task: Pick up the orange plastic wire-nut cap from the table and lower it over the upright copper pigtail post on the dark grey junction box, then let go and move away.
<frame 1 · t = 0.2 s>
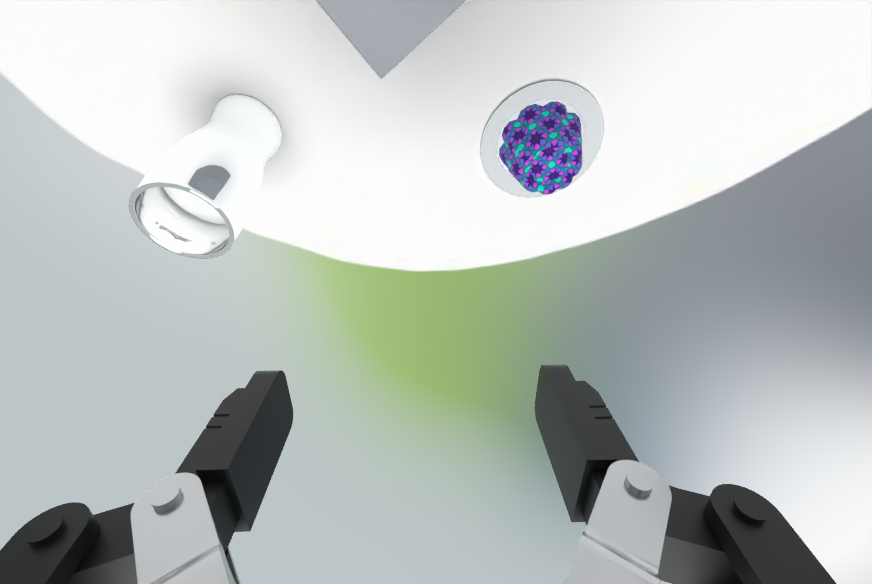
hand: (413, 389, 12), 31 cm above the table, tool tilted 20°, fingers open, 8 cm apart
beer glass: (250, 126, 37), on the table
pudding: (539, 141, 39), on the table
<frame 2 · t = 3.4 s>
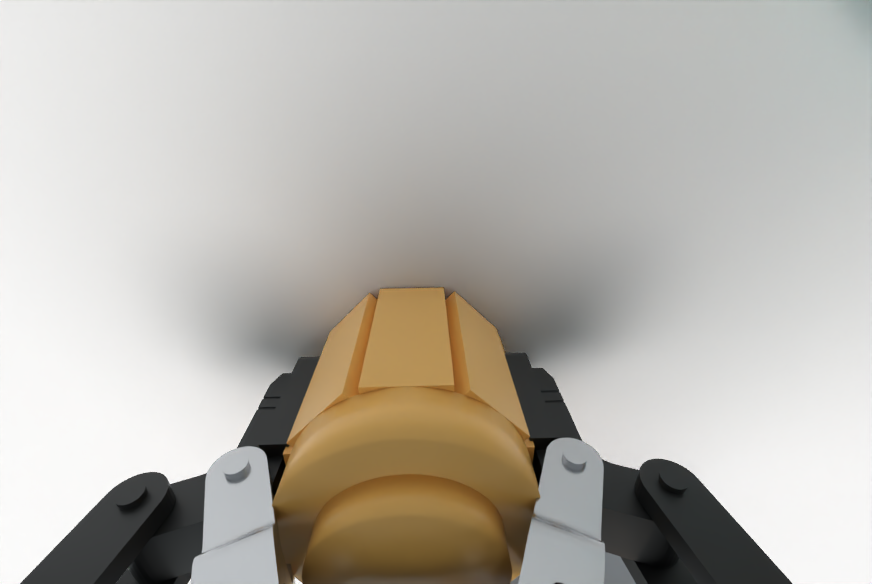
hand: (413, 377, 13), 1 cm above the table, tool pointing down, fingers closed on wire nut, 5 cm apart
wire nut: (414, 362, 14), on the table, touching gripper
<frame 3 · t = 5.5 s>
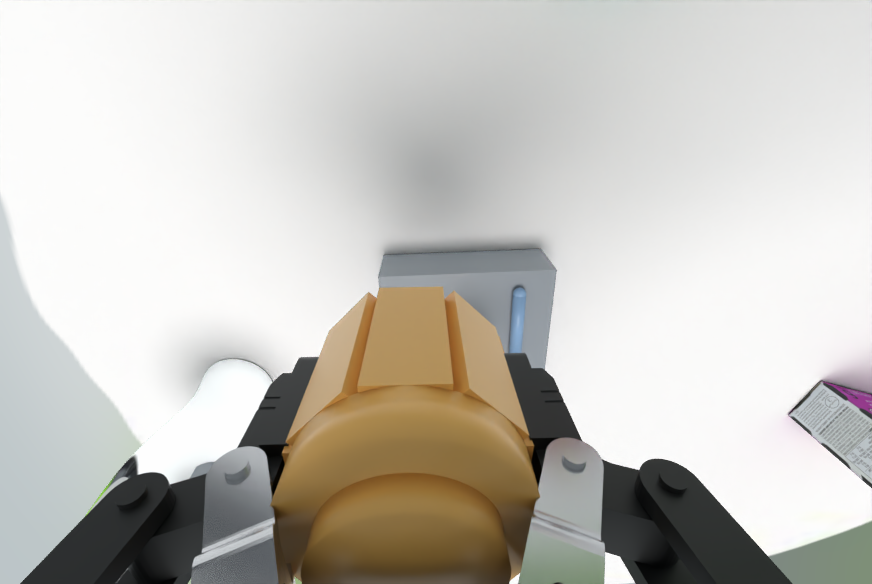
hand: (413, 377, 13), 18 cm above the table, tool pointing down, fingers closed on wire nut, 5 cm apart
beer glass: (241, 384, 35), on the table
candy bar box: (845, 406, 38), on the table
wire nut: (414, 361, 14), point 17 cm above the table, touching gripper
junction box: (462, 339, 33), on the table
when the fingers open (11 cm above the table, at t = 8.0 s): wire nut drops 2 cm, resting on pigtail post.
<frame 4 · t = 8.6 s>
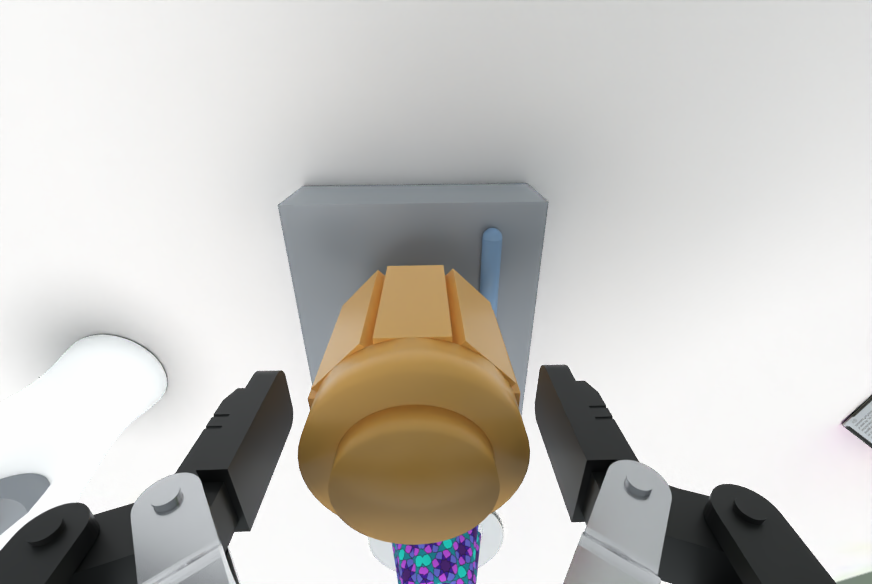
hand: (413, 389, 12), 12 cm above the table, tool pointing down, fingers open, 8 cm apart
beer glass: (121, 370, 26), on the table
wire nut: (417, 334, 15), point 8 cm above the table, touching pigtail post
junction box: (419, 313, 24), on the table
pudding: (435, 529, 35), on the table
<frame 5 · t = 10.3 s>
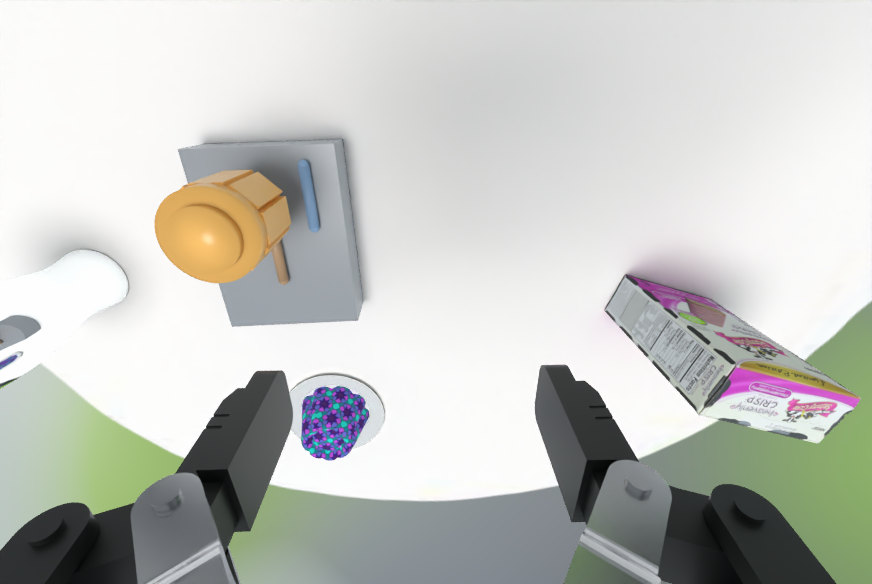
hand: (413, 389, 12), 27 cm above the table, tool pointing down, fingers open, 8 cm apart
beer glass: (97, 277, 39), on the table
candy bar box: (655, 302, 43), on the table
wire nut: (248, 211, 28), point 8 cm above the table, touching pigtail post
junction box: (291, 230, 37), on the table
pudding: (336, 409, 48), on the table
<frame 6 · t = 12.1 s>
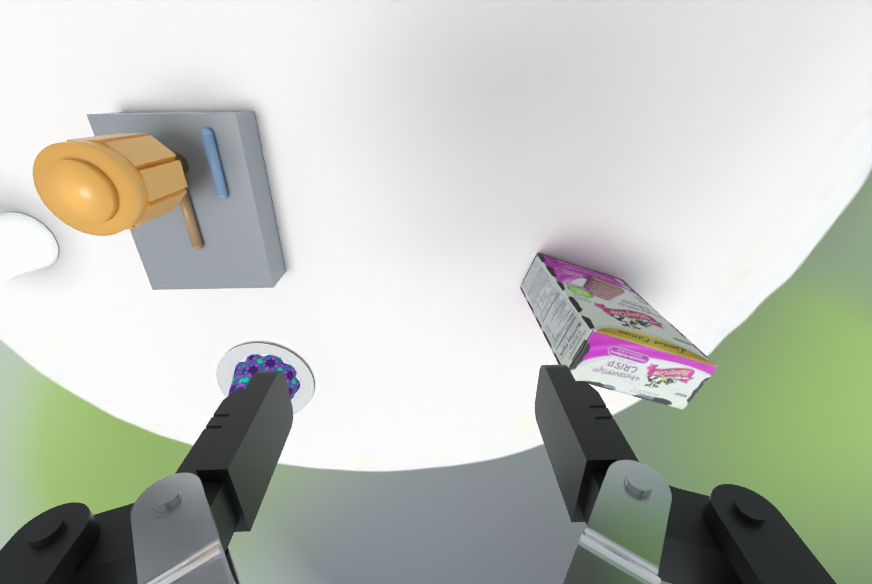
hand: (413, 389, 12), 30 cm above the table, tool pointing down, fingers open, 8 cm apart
beer glass: (28, 239, 41), on the table
candy bar box: (570, 281, 45), on the table
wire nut: (145, 174, 30), point 8 cm above the table, touching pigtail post
junction box: (211, 199, 39), on the table
pudding: (268, 377, 50), on the table
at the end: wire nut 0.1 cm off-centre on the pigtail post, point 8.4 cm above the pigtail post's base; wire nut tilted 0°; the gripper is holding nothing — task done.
